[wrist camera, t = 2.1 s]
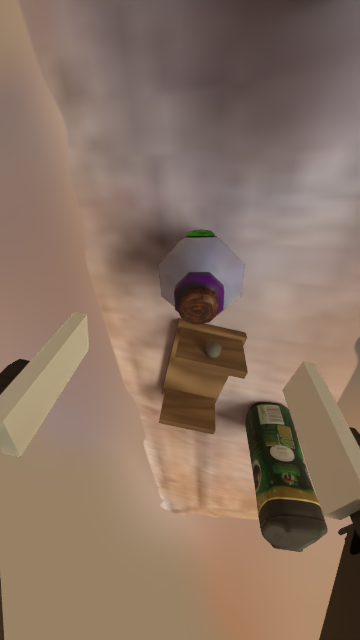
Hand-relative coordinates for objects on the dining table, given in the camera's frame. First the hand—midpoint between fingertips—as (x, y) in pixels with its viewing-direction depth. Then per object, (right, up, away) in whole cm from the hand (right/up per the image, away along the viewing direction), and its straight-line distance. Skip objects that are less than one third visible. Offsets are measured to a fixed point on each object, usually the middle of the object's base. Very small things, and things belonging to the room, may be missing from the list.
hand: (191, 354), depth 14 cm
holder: (+2, -5, +24) cm, 25 cm away
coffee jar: (+16, -16, +31) cm, 38 cm away
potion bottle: (+2, +10, +14) cm, 17 cm away
